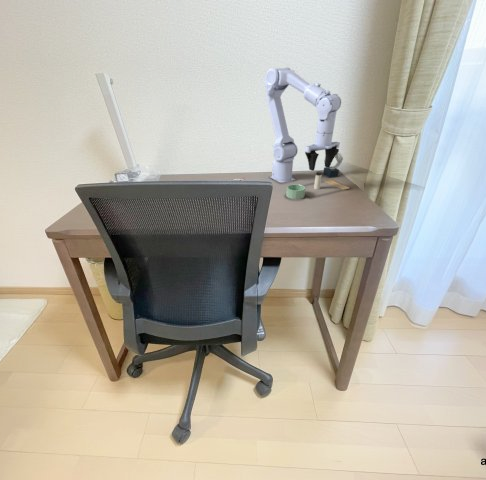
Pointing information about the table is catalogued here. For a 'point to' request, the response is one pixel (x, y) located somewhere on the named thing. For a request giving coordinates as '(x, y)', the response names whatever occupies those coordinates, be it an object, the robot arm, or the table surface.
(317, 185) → the marker
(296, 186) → the pen pot
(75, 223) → the table surface
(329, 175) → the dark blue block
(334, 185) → the cork mat
